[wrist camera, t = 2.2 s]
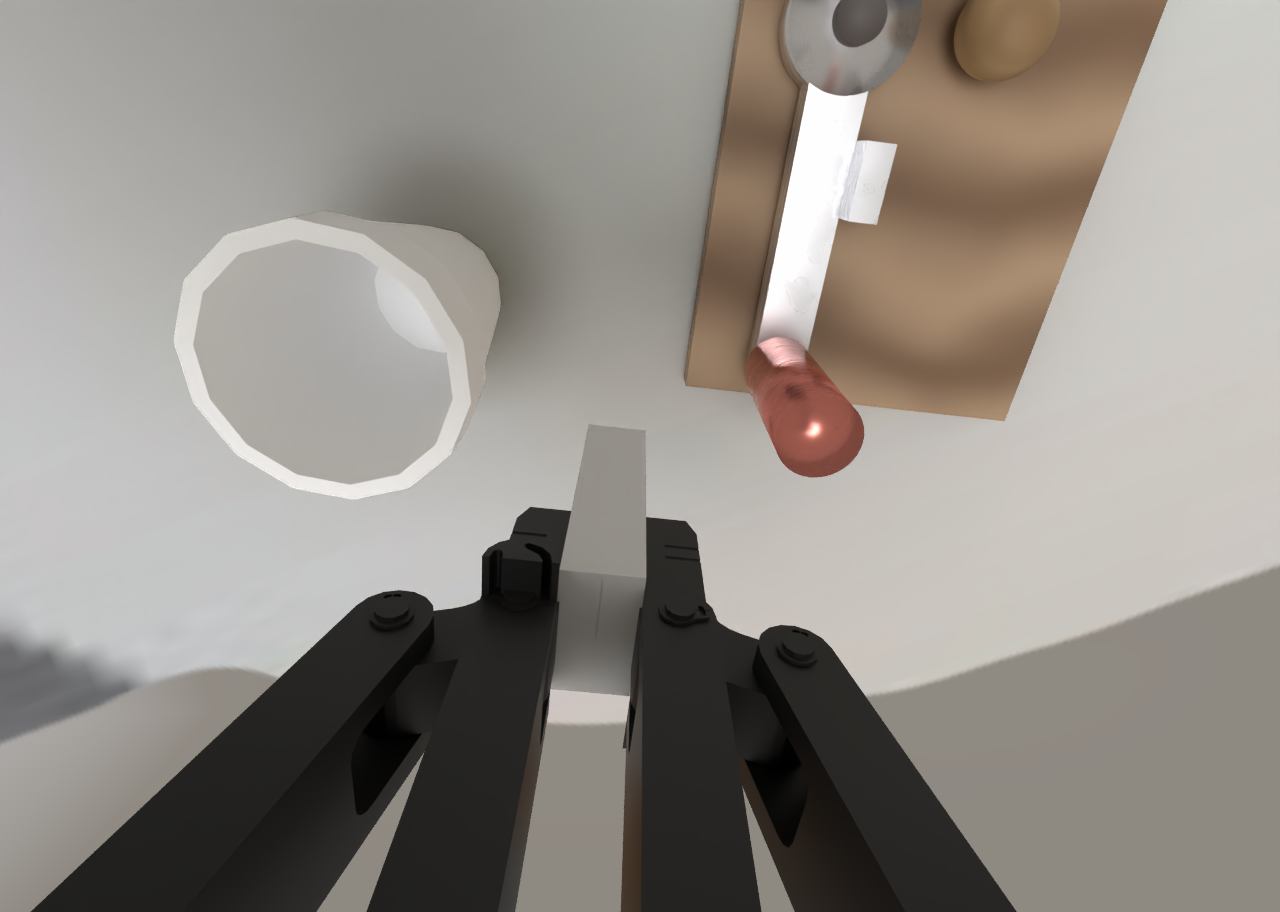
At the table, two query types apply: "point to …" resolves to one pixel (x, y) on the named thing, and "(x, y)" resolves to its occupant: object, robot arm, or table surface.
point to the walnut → (1004, 36)
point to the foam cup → (339, 348)
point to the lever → (819, 226)
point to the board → (922, 205)
